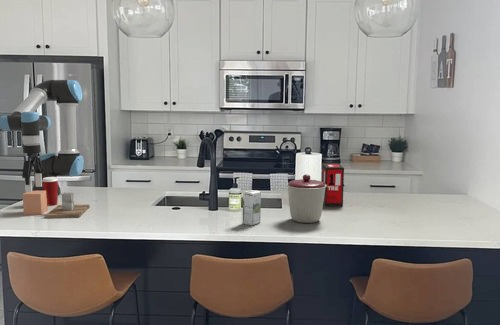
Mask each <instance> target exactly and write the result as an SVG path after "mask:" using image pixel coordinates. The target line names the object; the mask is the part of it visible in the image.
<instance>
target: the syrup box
mask: <svg viewBox="0 0 500 325" xmlns="http://www.w3.org/2000/svg"><path fill="white" fill-rule="evenodd" d="M261 203H262V192H261V191H260V190H255V189H254V190H253V189H250V190H246V191H243V192H242V224H243V225H248V226H251V227H252V226H256V225H259V224H261V207H262V206H261Z"/></svg>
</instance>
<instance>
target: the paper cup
mask: <svg viewBox="0 0 500 325" xmlns="http://www.w3.org/2000/svg"><path fill="white" fill-rule="evenodd" d="M42 181H43V188H44V191H46V198H47V207H52V206H53V207H54V206H58V201H59V200H58V195H59V194H58V185H59V182H58V181H59V179H58V176H56V177H46V178H43V180H42Z"/></svg>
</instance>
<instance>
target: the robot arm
mask: <svg viewBox="0 0 500 325" xmlns="http://www.w3.org/2000/svg"><path fill="white" fill-rule="evenodd" d="M82 100H83V90H82V86H81V84H80V83H79V81H78V80H74V79H47V80H44V81H42V82H40V83H38V84H37V85H35V86H34V87H33V88H32V89H30V91H29V94H28V96H27V97H26V98H25V99H24V100H22V102H21V103H20V104H19V105H18V106H17V107H16V108H15V109H14V110H13V111H12V112H11V113H10V114H6V115H2V116H1V117H0V128H1V130H3V131H9V132H18V131H20V132H21V134H22V135H21V139H20V140H22V152H23V154H26V155H24V156H23V167H22V175H21V179H24V190H25V192H24V193H26V192H32V191H44V188H43V181H42V180H43V178H46V177H69V178H70V177H78V176H80V175H81V174H82V172H83V169H84V164H85V161H84V157H83V155H81V153H80V151H79V150H78V141H77V138H78V136H77V107H78V106H79V102H81V101H82ZM50 101H51V102H56V105H57V106H58V107H59V132H60V134H59V135H60V136H59V139H60V140H59V141H60V142H59V143H60V145H59V146H60V150H58V152H57V155H56V153H55V152H51V153H50V152H49V153H42V154H40V153H41V151H42V150H41V134H40V132H42V131H43V132H44V131H47V130H49V129H50V128H51V126H52V121H51V118H50V117H49V116H47V115H44V114H43V115H42V114H39V112H38V111H37V110H38V109H39V108H40V106H41V105H44V104H46V103H47V102H50ZM32 171H33V178H34V182H33V184H32V177H31V175H32ZM60 194H62V192H61V187H60V185H59V184H58V195H60Z"/></svg>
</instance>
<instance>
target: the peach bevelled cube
mask: <svg viewBox="0 0 500 325" xmlns="http://www.w3.org/2000/svg"><path fill="white" fill-rule="evenodd" d="M22 205H23V207H22V208H23V216H38V215H39V216H40V215H43V214H45V213H46V212H47V211H48V206H47V198H46V191H32V192H24V193H22Z"/></svg>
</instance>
